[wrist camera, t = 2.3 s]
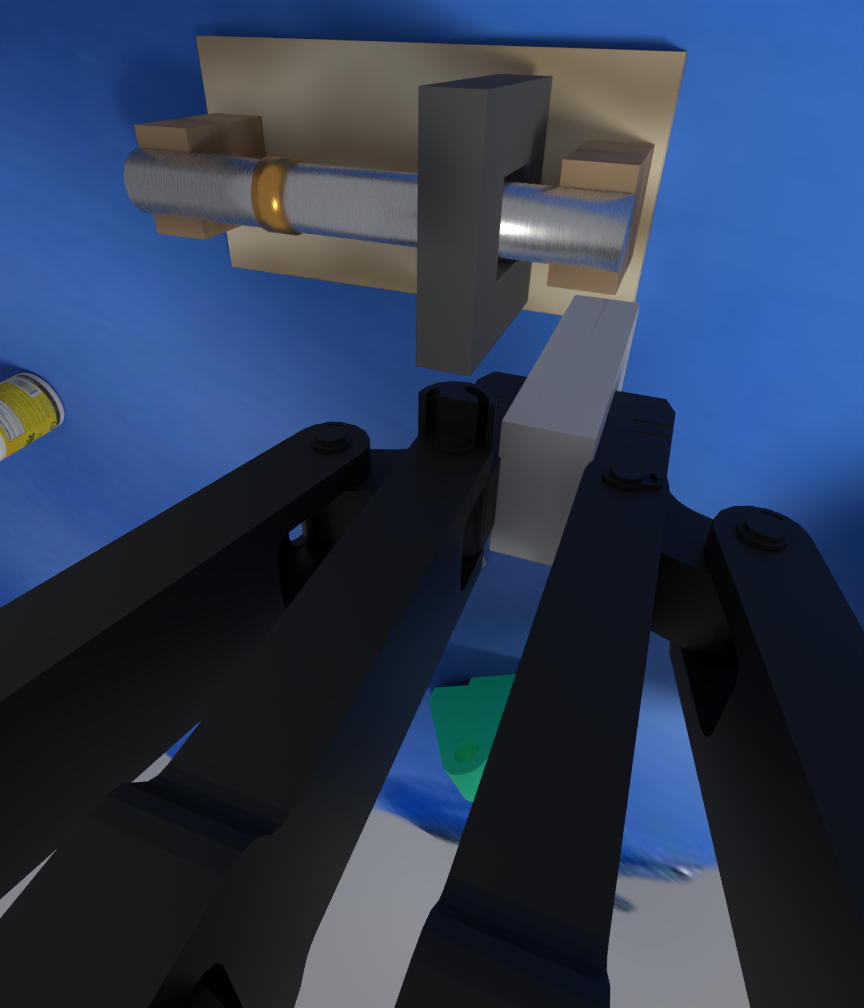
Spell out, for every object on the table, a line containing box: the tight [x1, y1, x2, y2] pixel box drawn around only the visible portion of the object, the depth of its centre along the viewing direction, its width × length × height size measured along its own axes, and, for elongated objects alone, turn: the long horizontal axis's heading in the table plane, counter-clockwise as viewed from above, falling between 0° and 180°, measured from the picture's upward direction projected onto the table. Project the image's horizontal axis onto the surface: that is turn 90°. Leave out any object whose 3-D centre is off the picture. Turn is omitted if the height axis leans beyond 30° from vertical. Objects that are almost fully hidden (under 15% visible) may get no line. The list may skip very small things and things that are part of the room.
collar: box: [416, 74, 553, 376], centre depth 28 cm, size 10×2×10 cm, turn 179°
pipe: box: [124, 148, 636, 273], centre depth 29 cm, size 3×24×3 cm, turn 89°
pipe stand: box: [134, 36, 688, 315], centre depth 32 cm, size 12×25×8 cm, turn 89°
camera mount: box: [429, 674, 516, 802], centre depth 54 cm, size 12×8×10 cm, turn 119°
